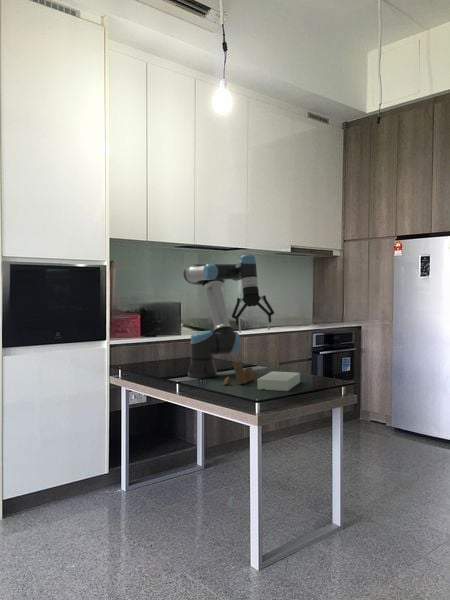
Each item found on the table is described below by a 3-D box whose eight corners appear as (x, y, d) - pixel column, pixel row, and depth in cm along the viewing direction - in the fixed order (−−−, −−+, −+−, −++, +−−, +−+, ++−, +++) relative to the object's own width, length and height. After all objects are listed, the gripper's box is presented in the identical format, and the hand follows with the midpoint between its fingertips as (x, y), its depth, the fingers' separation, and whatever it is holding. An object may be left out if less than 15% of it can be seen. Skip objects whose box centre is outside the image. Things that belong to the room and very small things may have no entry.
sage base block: (257, 390, 224) (257, 379, 224) (272, 381, 245) (272, 371, 245) (287, 392, 219) (287, 380, 219) (300, 383, 239) (299, 372, 239)
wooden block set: (249, 385, 247) (243, 365, 250) (261, 380, 242) (255, 359, 245) (223, 389, 235) (217, 368, 238) (235, 383, 229) (229, 362, 232)
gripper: (224, 288, 236) (228, 332, 233) (276, 283, 235) (281, 328, 232) (224, 290, 243) (228, 333, 240) (275, 285, 242) (280, 329, 239)
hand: (254, 331), depth 236 cm, fingers open, 13 cm apart
